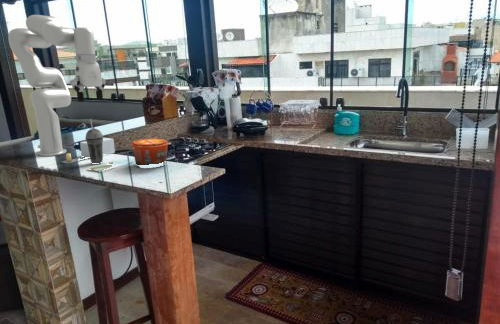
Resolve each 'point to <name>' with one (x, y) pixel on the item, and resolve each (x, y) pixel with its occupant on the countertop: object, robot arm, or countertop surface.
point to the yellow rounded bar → (69, 160)
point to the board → (101, 166)
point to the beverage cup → (95, 144)
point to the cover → (106, 147)
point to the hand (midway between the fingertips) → (90, 100)
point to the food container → (150, 151)
